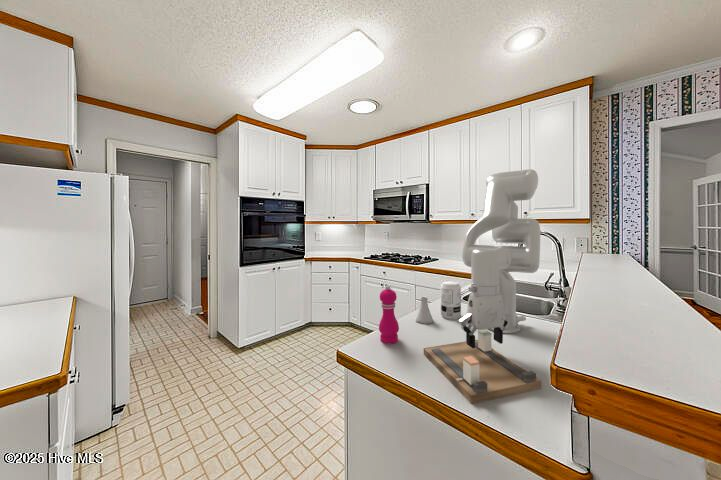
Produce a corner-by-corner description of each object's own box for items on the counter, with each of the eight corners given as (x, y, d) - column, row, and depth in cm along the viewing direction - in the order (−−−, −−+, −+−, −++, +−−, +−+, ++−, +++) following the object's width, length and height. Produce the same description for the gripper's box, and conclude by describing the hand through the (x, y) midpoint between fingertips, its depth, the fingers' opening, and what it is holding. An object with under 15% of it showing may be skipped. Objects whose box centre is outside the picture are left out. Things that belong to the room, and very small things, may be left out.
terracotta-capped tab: (463, 377, 68) (463, 357, 68) (471, 376, 69) (471, 356, 68) (470, 384, 65) (470, 363, 65) (479, 383, 66) (479, 362, 66)
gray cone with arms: (430, 325, 108) (430, 301, 107) (413, 322, 112) (412, 299, 111) (435, 319, 114) (435, 296, 114) (419, 316, 118) (418, 294, 117)
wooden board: (423, 354, 86) (423, 342, 86) (478, 345, 91) (478, 333, 90) (471, 403, 63) (471, 387, 62) (541, 388, 67) (541, 373, 67)
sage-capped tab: (478, 347, 84) (478, 330, 84) (484, 345, 85) (484, 329, 84) (484, 351, 81) (484, 334, 81) (491, 350, 82) (491, 333, 81)
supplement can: (438, 313, 121) (438, 280, 120) (457, 313, 121) (457, 280, 120) (443, 320, 113) (443, 285, 112) (463, 319, 113) (463, 284, 112)
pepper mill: (398, 345, 93) (397, 288, 91) (377, 343, 94) (376, 287, 93) (399, 335, 100) (398, 282, 98) (380, 334, 101) (378, 282, 100)
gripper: (467, 295, 76) (467, 354, 77) (518, 289, 80) (517, 345, 81) (452, 289, 83) (452, 342, 84) (499, 284, 87) (499, 335, 88)
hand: (484, 343), depth 83 cm, fingers open, 9 cm apart
